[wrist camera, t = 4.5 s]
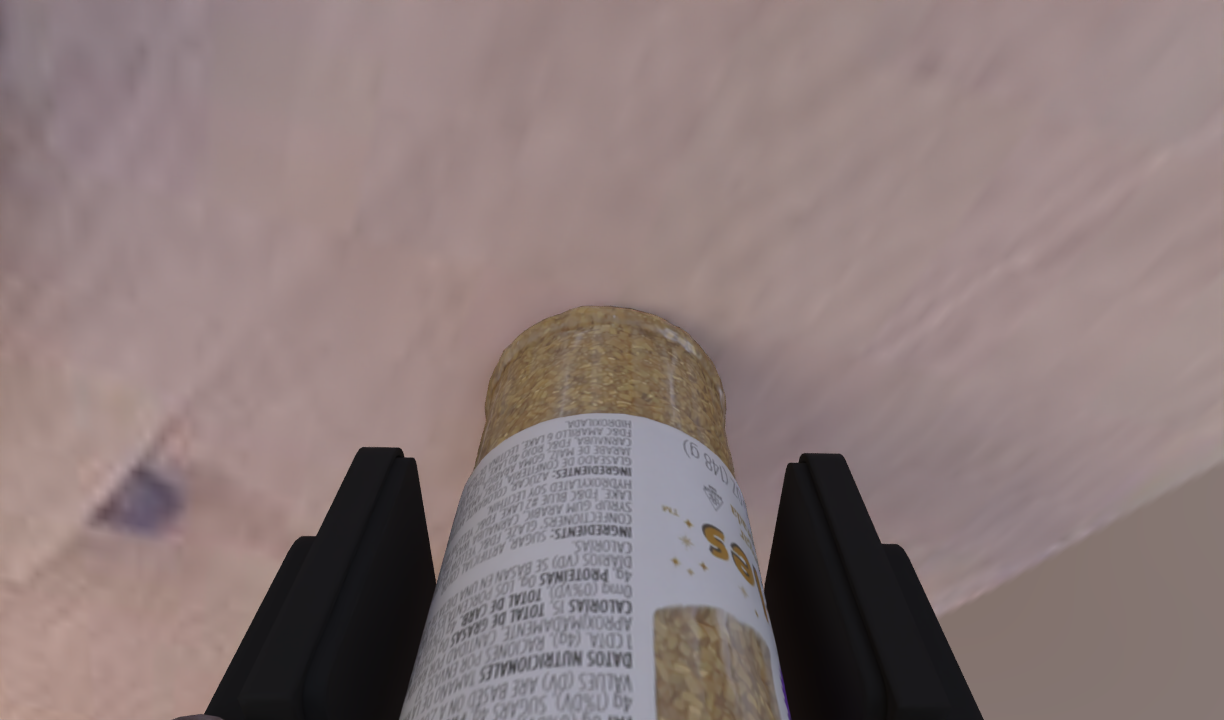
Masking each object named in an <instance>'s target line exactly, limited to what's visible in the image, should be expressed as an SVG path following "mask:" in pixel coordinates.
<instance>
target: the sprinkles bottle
mask: <svg viewBox="0 0 1224 720" xmlns="http://www.w3.org/2000/svg"><path fill="white" fill-rule="evenodd" d="M725 414H726V400H725V394H724V390H723V386H722V382H721V379H720V377H719V375H718V373H717V371H716V368H715V366H714V364H713V362H712V361H711V359H710V358H709V357H708V356H707V355H706V354H705V352H704V351H703V350H702V348H701V347H700V346H699V345H698V344H697V343H696V342H695V341H694V340H693V339H692V338H691V337H690V336H689V334H688V333H687V332H685V331H684V330H682V329H681V328H679V327H676V326H674V325H672V324H670V323H669V322H667V321H666V320H665V319H662V318H660V317H658V316H656V315H652V314H649V313H645V312H642V311H638V310H634V309H628V308H619V307H614V306H581V307H578V308H574V309H571V310H568V311H566V312H564V313H562V314H559V315H555V316H552V317H549V318H546V319H544V320H542V321H541V322H539V323H537V324H535V325H533V326H532V327H530V328H528V329H527V330H525V331H524V332H523V333H522V334H520V335H519V336H518V337H517V338H516V339H515V340H514V341H513V342H512V343H511V344H510V345H509V346H508V347H507V348H506V349H505V350H504V351H503V353H502V355H501V357H500V359H499V362H498V364H497V365H496V367H495V369H494V371H493V374H492V376H491V378H490V381H489V385H488V390H487V396H486V402H485V415H486V424H485V428H484V431H483V434H482V438H481V442H480V446H479V449H478V455H477V458H476V462H475V467H474V470H473V472H472V474H471V476H470V477H469V479H468V481H467V483H466V485H465V486H464V489H463V492H462V495H461V498H460V501H459V505H458V508H457V511H456V515H455V518H454V522H453V526H452V529H451V533H450V537H449V540H448V544H447V548H446V551H445V555H444V559H443V562H442V566H441V570H440V573H439V577H438V580H437V584H436V587H435V591H434V595H433V598H432V602H431V605H430V609H429V612H428V616H427V620H426V623H425V627H424V631H423V634H422V638H421V642H420V645H419V649H418V653H417V656H416V660H415V664H414V667H413V671H412V674H411V678H410V682H409V685H408V689H407V693H406V696H405V700H404V703H403V707H402V711H401V714H400V718H399V720H791V715H790V710H789V706H788V701H787V695H786V690H785V685H784V681H783V676H782V671H781V667H780V662H779V657H778V652H777V647H776V642H775V638H774V634H773V630H772V626H771V622H770V617H769V613H768V609H767V604H766V599H765V594H764V589H763V584H762V579H761V574H760V570H759V565H758V561H757V556H756V551H755V547H754V542H753V537H752V532H751V528H750V523H749V518H748V513H747V508H746V504H745V501H744V498H743V495H742V493H741V490H740V488H739V486H738V484H737V482H736V479H735V474H734V467H733V462H732V457H731V453H730V450H729V446H728V442H727V437H726V433H725Z"/></svg>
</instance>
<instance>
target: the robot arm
mask: <svg viewBox="0 0 1224 720" xmlns="http://www.w3.org/2000/svg"><path fill="white" fill-rule="evenodd" d="M435 587H436V579H435V573H434V567H433V561H432V555H431V549H430V543H429V537H428V531H427V525H426V518H425V512H424V506H423V500H422V494H421V488H420V482H419V476H418V470H417V464H416V461H415V459H414V458H404V454H403V451H402V449H401V448H389V447H362V448H360V449H359V450H358V452H357V453H356V455H355V458H354V460H353V462H352V464H351V466H350V468H349V470H348V472H347V474H346V476H345V478H344V480H343V482H342V484H341V486H340V488H339V490H338V492H337V495H336V497H335V499H334V501H333V503H332V505H331V507H330V509H329V511H328V513H327V515H326V517H325V519H324V521H323V523H322V525H321V527H320V529H319V531H318V534H317V536H301V537H300V538H299V539H297V540H296V541H295V542H294V544H293V545H292V547H291V548H290V550H289V551H288V553H287V555H286V557H285V559H284V561H283V563H282V565H281V567H280V569H279V571H278V573H277V575H276V576H275V578H274V580H273V582H272V584H271V586H270V588H269V590H268V592H267V594H266V596H265V598H264V600H263V602H262V603H261V605H260V607H259V609H258V611H257V613H256V615H255V617H254V619H253V621H252V623H251V625H250V627H249V628H248V630H247V632H246V634H245V636H244V638H243V640H242V642H241V644H240V646H239V648H238V650H237V652H236V654H235V655H234V657H233V659H232V661H231V663H230V665H229V667H228V669H227V671H226V673H225V675H224V677H223V679H222V680H221V682H220V684H219V686H218V688H217V690H216V692H215V694H214V696H213V698H212V700H211V702H210V704H209V706H208V707H207V709H206V711H205V713H204V714H198V715H190V716H183V717H178V718H176V719H173V720H399V718H400V714H401V711H402V707H403V703H404V700H405V696H406V693H407V689H408V685H409V682H410V678H411V674H412V671H413V667H414V664H415V660H416V656H417V653H418V649H419V645H420V642H421V638H422V634H423V631H424V627H425V623H426V620H427V616H428V612H429V609H430V605H431V602H432V598H433V595H434V591H435ZM764 594H765V599H766V604H767V609H768V613H769V617H770V622H771V626H772V630H773V634H774V638H775V642H776V647H777V652H778V657H779V662H780V667H781V671H782V676H783V681H784V685H785V690H786V695H787V701H788V706H789V710H790V715H791V720H984V719H983V717H982V715H981V713H980V711H979V709H978V706H977V704H976V702H975V700H974V698H973V696H972V694H971V691H970V689H969V687H968V685H967V683H966V680H965V678H964V676H963V674H962V672H961V670H960V668H959V665H958V663H957V661H956V659H955V657H954V655H953V653H952V650H951V648H950V646H949V644H948V642H947V639H946V637H945V635H944V633H943V631H942V629H941V626H940V624H939V622H938V620H937V618H936V616H935V613H934V611H933V609H932V607H931V605H930V603H929V600H928V598H927V596H926V594H925V592H924V590H923V587H922V585H921V583H920V581H919V579H918V577H917V575H916V572H915V570H914V568H913V566H912V564H911V562H910V559H909V557H908V556H907V554H906V552H905V551H904V549H903V548H902V547H900V546H899V545H898V544H881V542H880V539H879V537H878V535H877V532H876V530H875V528H874V525H873V523H872V521H871V518H870V516H869V514H868V511H867V509H866V507H865V504H864V502H863V500H862V497H861V495H860V493H859V490H858V488H857V486H856V483H855V481H854V479H853V476H852V474H851V472H850V470H849V467H848V465H847V463H846V460H845V458H844V457H843V455H841V454H823V453H804V454H802V455H801V456H800V459H799V462H798V463H788V465H787V468H786V472H785V477H784V483H783V488H782V494H781V499H780V505H779V510H778V516H777V521H776V527H775V532H774V537H773V543H772V548H771V554H770V559H769V565H768V570H767V576H766V581H765V588H764Z"/></svg>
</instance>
